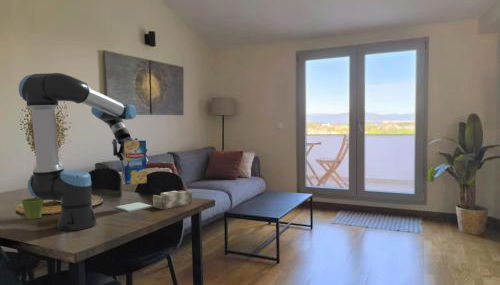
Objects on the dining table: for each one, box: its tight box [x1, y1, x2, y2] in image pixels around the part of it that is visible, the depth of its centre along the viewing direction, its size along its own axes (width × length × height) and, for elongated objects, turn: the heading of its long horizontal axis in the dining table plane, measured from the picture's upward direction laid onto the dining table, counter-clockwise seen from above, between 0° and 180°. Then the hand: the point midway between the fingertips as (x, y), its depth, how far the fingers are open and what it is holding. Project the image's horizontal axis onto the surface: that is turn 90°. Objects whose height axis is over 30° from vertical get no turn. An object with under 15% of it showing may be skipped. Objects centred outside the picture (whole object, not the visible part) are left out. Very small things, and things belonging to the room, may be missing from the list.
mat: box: [115, 201, 153, 213], centre depth 186 cm, size 13×13×1 cm
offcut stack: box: [159, 190, 179, 196], centre depth 192 cm, size 12×5×6 cm, turn 138°
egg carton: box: [152, 190, 193, 210], centre depth 191 cm, size 18×10×7 cm, turn 138°
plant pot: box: [20, 197, 45, 220], centre depth 167 cm, size 9×9×9 cm
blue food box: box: [121, 139, 148, 186], centre depth 186 cm, size 7×11×22 cm, turn 123°
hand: (136, 163), depth 184 cm, fingers closed on blue food box, 11 cm apart
